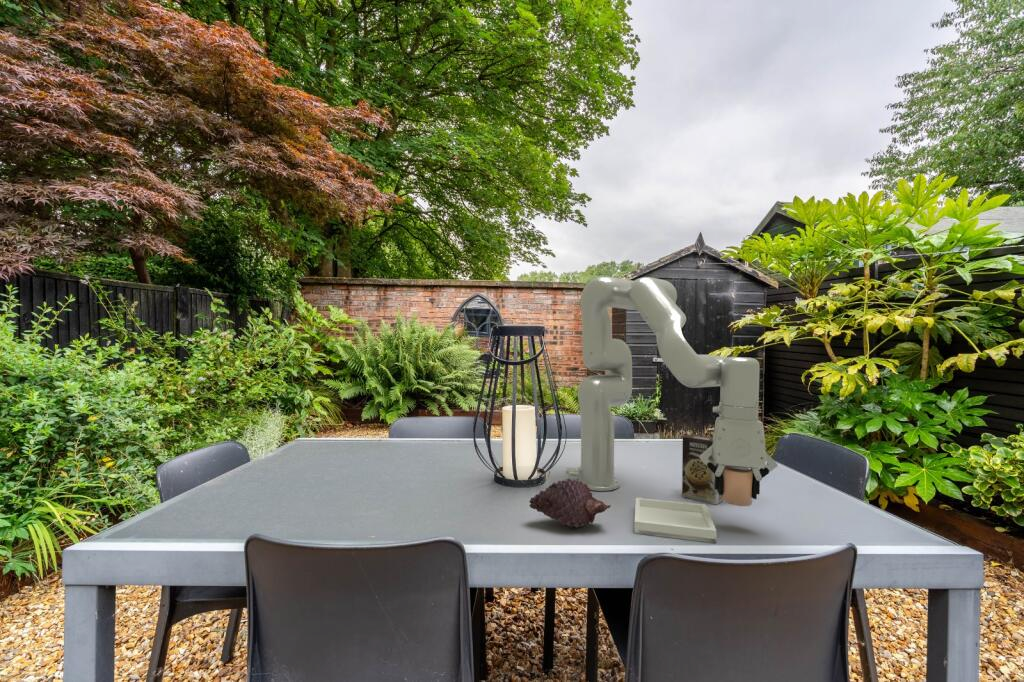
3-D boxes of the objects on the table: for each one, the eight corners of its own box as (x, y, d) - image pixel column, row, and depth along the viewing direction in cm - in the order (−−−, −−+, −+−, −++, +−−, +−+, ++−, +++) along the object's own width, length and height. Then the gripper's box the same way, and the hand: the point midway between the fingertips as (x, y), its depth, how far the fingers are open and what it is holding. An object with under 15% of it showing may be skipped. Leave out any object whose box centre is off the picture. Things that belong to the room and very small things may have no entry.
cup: (724, 504, 95) (725, 471, 95) (718, 494, 101) (719, 463, 101) (755, 507, 93) (756, 474, 93) (747, 497, 99) (748, 466, 99)
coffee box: (681, 496, 118) (681, 436, 118) (691, 491, 122) (691, 433, 123) (716, 505, 111) (716, 441, 112) (725, 499, 116) (725, 438, 116)
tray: (634, 533, 94) (634, 521, 94) (635, 507, 109) (635, 497, 109) (716, 543, 89) (716, 530, 89) (705, 515, 105) (705, 504, 105)
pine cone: (527, 532, 94) (528, 485, 94) (531, 514, 104) (531, 472, 104) (612, 536, 92) (612, 488, 92) (607, 518, 102) (607, 475, 102)
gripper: (698, 413, 96) (696, 495, 96) (788, 419, 91) (786, 506, 91) (694, 408, 103) (692, 485, 103) (778, 413, 98) (775, 494, 98)
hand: (736, 494), depth 97 cm, fingers closed on cup, 6 cm apart
